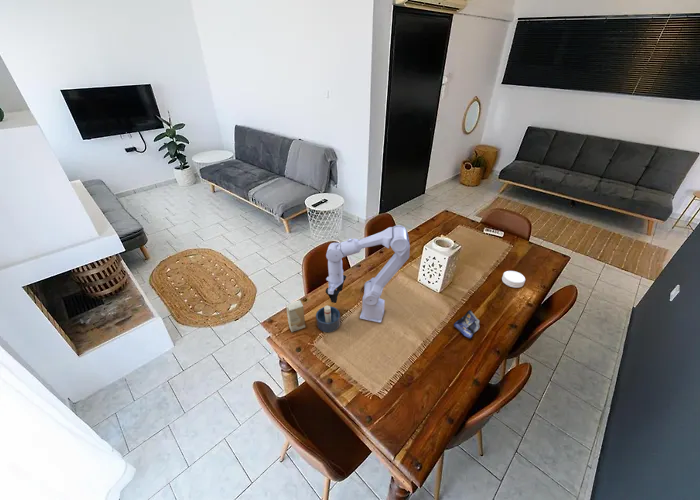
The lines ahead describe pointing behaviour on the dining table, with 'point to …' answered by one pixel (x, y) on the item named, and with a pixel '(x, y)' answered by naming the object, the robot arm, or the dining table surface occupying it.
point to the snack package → (467, 324)
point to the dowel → (327, 314)
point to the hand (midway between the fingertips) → (336, 296)
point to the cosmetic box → (295, 315)
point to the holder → (333, 324)
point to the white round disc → (513, 279)
